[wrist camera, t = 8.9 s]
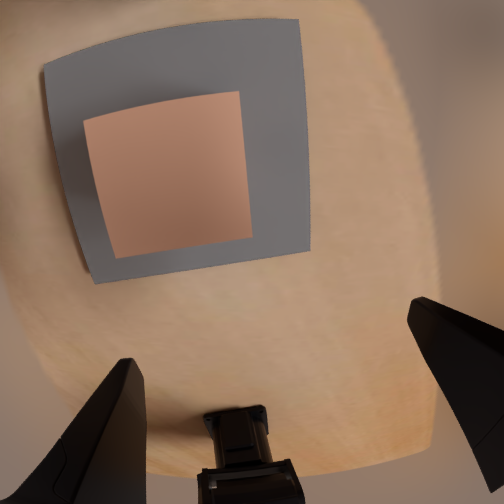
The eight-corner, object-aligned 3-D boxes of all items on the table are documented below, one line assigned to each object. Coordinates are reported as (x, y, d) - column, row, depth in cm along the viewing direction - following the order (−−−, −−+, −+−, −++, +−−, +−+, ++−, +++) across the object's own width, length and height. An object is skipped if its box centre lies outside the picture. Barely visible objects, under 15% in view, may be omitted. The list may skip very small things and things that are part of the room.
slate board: (304, 242, 20) (310, 251, 19) (99, 274, 19) (94, 284, 18) (292, 24, 13) (298, 19, 12) (52, 66, 12) (43, 64, 11)
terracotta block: (236, 195, 17) (252, 237, 12) (138, 210, 16) (115, 258, 11) (225, 95, 14) (239, 90, 9) (120, 113, 13) (83, 120, 9)
